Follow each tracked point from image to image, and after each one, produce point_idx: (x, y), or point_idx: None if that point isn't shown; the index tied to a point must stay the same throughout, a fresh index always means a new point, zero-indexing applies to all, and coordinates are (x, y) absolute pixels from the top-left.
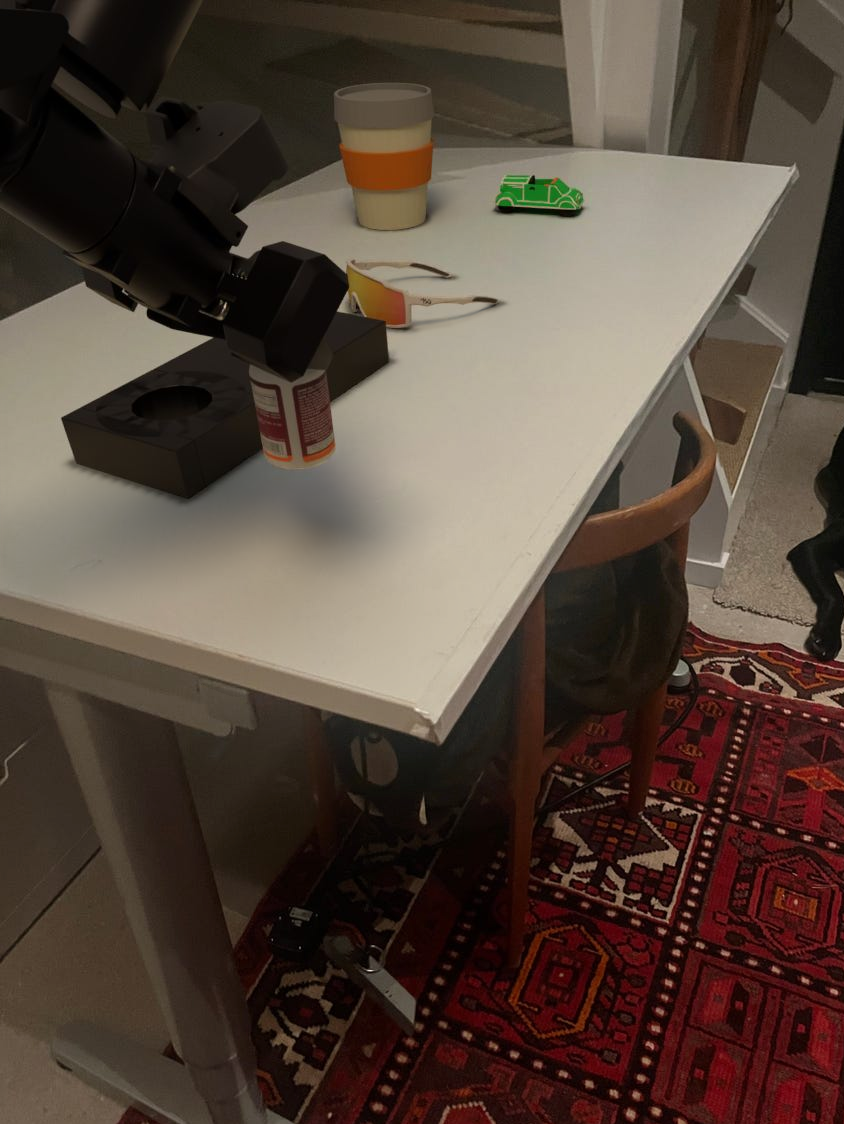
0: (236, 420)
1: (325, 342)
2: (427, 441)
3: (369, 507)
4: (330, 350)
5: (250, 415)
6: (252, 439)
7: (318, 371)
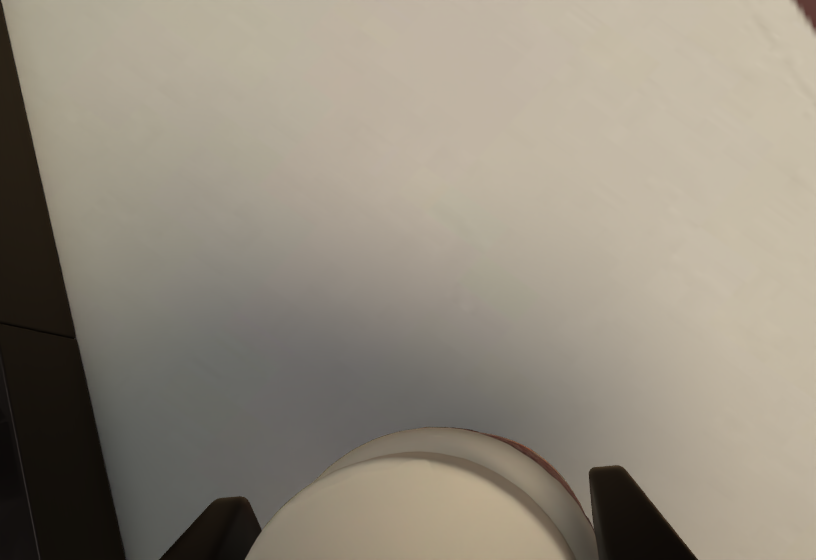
0: (29, 435)
1: (682, 540)
2: (331, 66)
3: (474, 336)
4: (638, 486)
5: (24, 383)
6: (67, 395)
7: (593, 540)
